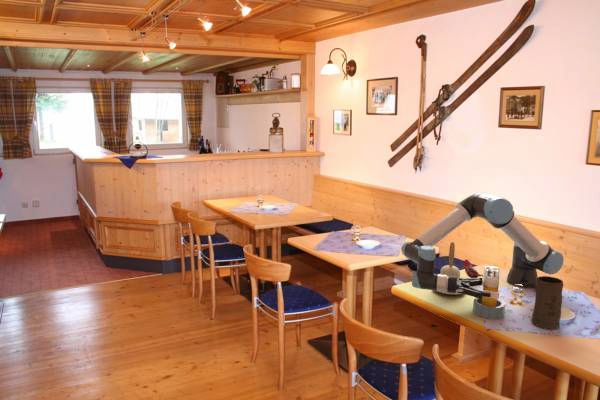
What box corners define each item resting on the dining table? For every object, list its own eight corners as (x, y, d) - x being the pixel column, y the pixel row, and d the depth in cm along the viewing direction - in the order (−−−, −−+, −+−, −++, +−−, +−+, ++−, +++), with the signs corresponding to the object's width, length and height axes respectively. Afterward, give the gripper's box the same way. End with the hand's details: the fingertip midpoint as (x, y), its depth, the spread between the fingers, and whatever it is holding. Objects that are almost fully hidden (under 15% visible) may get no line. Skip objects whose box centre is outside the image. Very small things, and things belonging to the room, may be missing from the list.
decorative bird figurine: (464, 275, 265) (466, 257, 263) (485, 287, 248) (487, 268, 247) (460, 276, 264) (461, 258, 263) (480, 287, 248) (482, 268, 246)
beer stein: (566, 329, 201) (570, 282, 199) (542, 331, 199) (546, 282, 197) (542, 316, 216) (545, 272, 214) (520, 317, 215) (522, 272, 212)
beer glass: (498, 302, 229) (501, 271, 226) (482, 301, 230) (485, 270, 227) (495, 297, 236) (498, 266, 233) (480, 295, 237) (482, 265, 234)
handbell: (432, 284, 251) (436, 236, 246) (464, 288, 247) (468, 239, 242) (432, 295, 236) (436, 244, 232) (465, 299, 232) (470, 247, 228)
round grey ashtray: (487, 305, 225) (488, 295, 224) (509, 316, 214) (510, 305, 213) (467, 309, 220) (468, 299, 219) (488, 320, 209) (489, 309, 208)
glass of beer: (478, 307, 219) (482, 275, 217) (491, 307, 220) (495, 275, 217) (484, 313, 213) (488, 280, 211) (498, 313, 214) (502, 280, 211)
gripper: (448, 282, 233) (496, 288, 226) (445, 301, 210) (498, 309, 203) (449, 267, 231) (498, 273, 225) (446, 284, 208) (500, 291, 201)
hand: (498, 290), depth 214 cm, fingers open, 13 cm apart
